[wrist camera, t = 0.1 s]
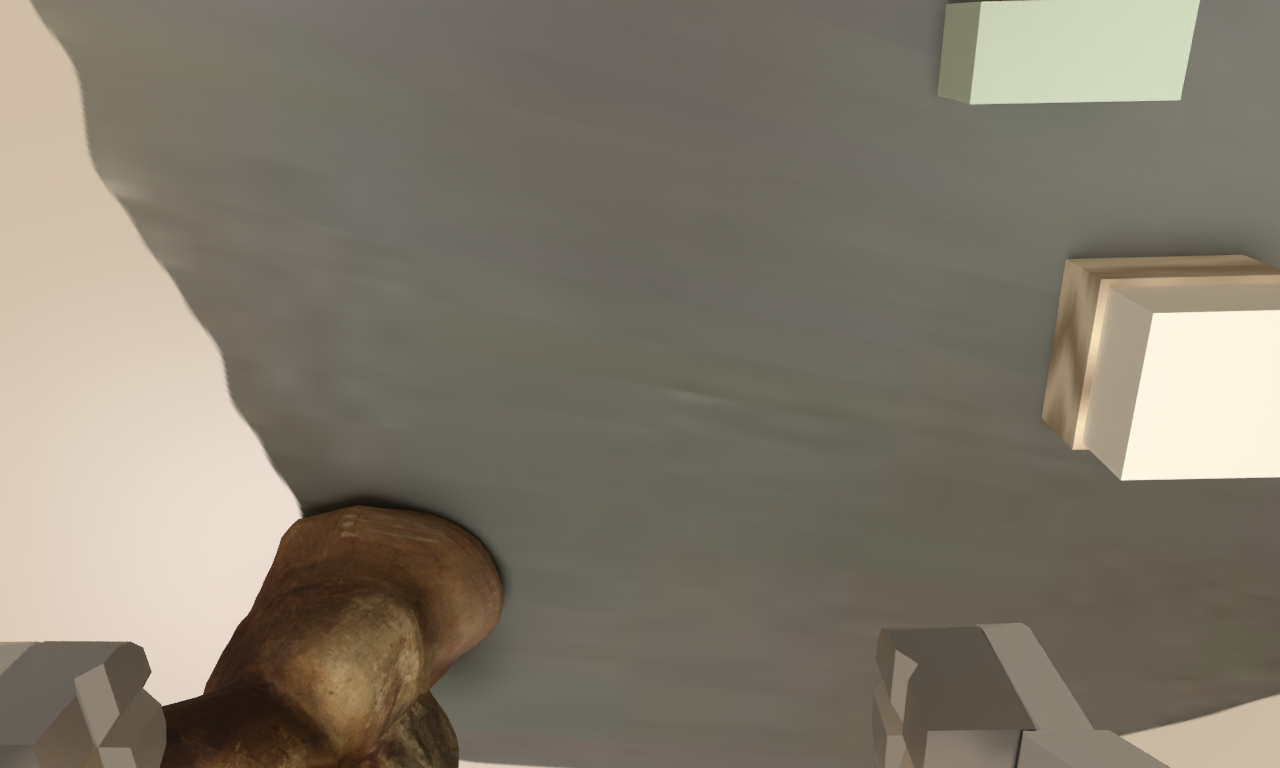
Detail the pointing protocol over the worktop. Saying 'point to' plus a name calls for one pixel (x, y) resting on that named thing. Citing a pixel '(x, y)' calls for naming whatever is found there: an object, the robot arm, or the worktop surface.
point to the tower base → (1086, 313)
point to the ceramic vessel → (345, 649)
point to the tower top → (1188, 382)
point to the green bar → (1066, 50)
